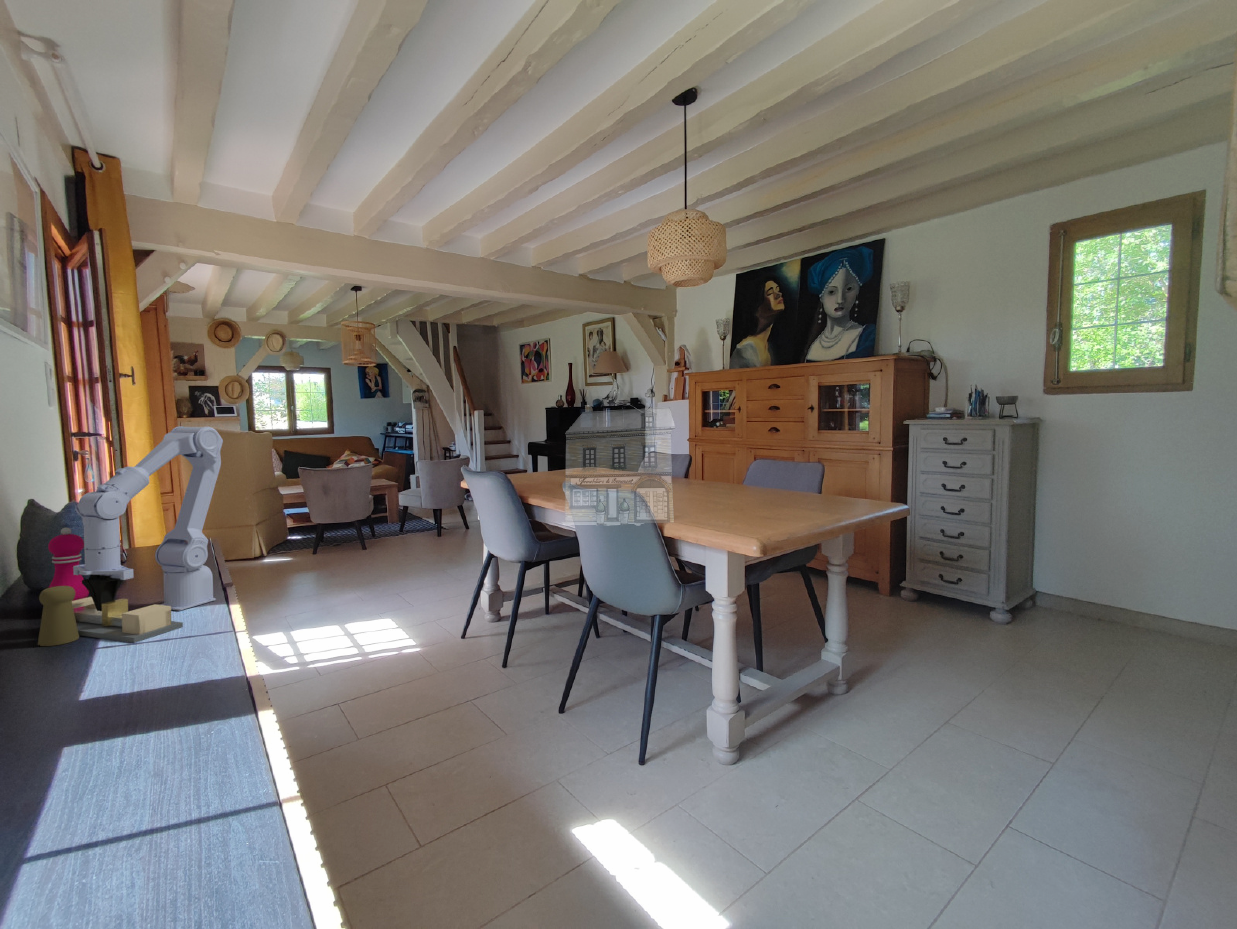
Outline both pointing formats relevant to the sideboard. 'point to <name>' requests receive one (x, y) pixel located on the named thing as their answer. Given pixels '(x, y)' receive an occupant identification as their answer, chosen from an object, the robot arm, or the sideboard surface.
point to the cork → (57, 616)
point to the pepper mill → (67, 562)
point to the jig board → (129, 623)
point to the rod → (104, 613)
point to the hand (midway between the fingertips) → (104, 609)
